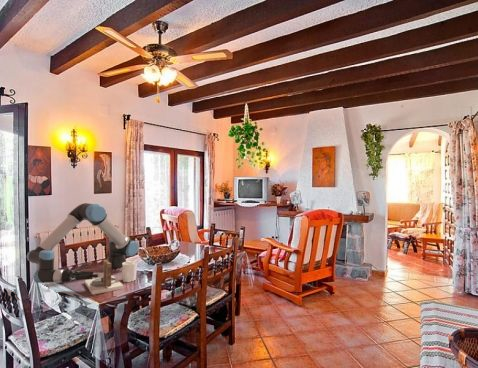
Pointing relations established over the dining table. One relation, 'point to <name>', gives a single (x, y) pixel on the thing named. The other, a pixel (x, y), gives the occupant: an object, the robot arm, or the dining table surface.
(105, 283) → the wooden bookend
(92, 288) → the dial plate
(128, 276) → the candle holder
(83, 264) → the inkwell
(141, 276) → the dining table surface
